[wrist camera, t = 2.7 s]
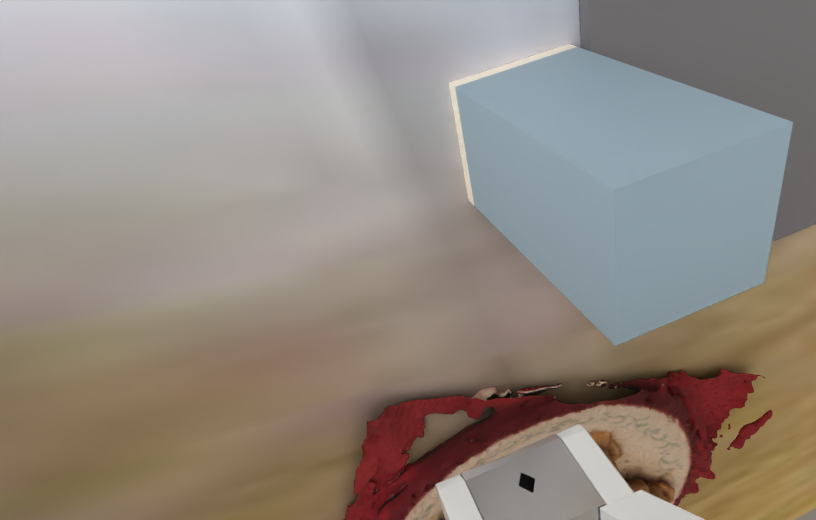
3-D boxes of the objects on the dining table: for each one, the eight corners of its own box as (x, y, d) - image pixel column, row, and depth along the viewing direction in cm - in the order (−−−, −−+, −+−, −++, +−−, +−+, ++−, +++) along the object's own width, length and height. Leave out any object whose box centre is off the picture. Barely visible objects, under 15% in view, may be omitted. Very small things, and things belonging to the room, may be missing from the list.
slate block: (468, 199, 24) (615, 345, 16) (448, 82, 22) (614, 189, 13) (574, 161, 25) (764, 282, 17) (568, 43, 22) (793, 122, 14)
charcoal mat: (590, 307, 30) (597, 314, 30) (569, -247, 18) (581, -251, 17) (813, 215, 32) (823, 220, 32) (933, -333, 20) (952, -339, 19)
